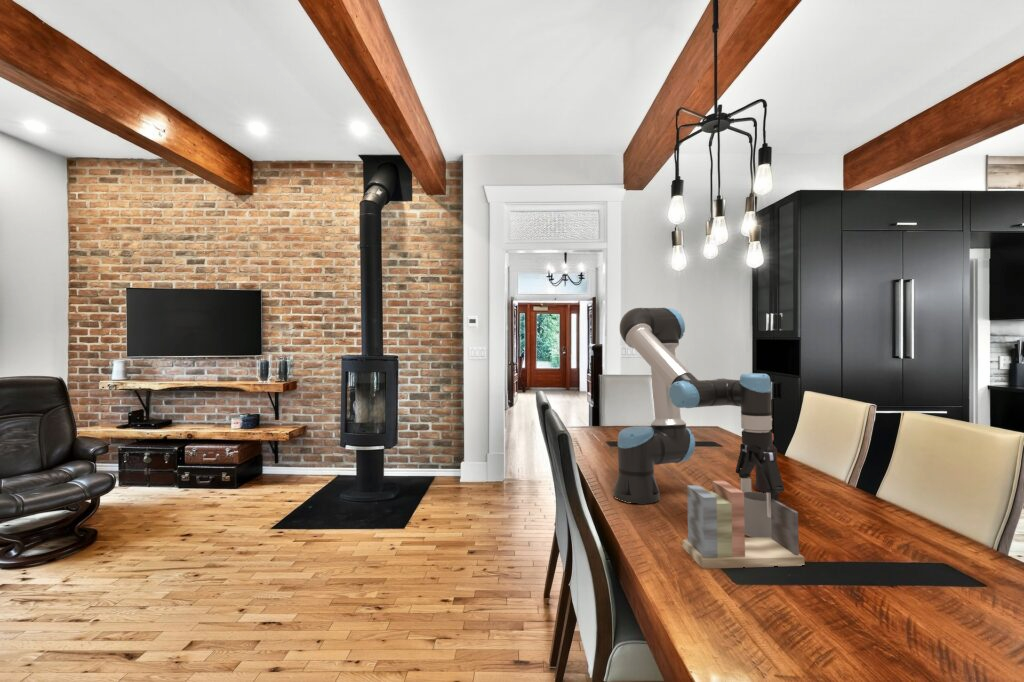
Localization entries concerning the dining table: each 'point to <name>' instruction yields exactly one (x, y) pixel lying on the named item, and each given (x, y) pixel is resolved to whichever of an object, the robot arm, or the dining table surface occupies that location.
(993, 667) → the dining table surface
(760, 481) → the bottle
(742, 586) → the dining table surface
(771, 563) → the pastel book stand
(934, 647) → the dining table surface
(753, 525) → the cup
